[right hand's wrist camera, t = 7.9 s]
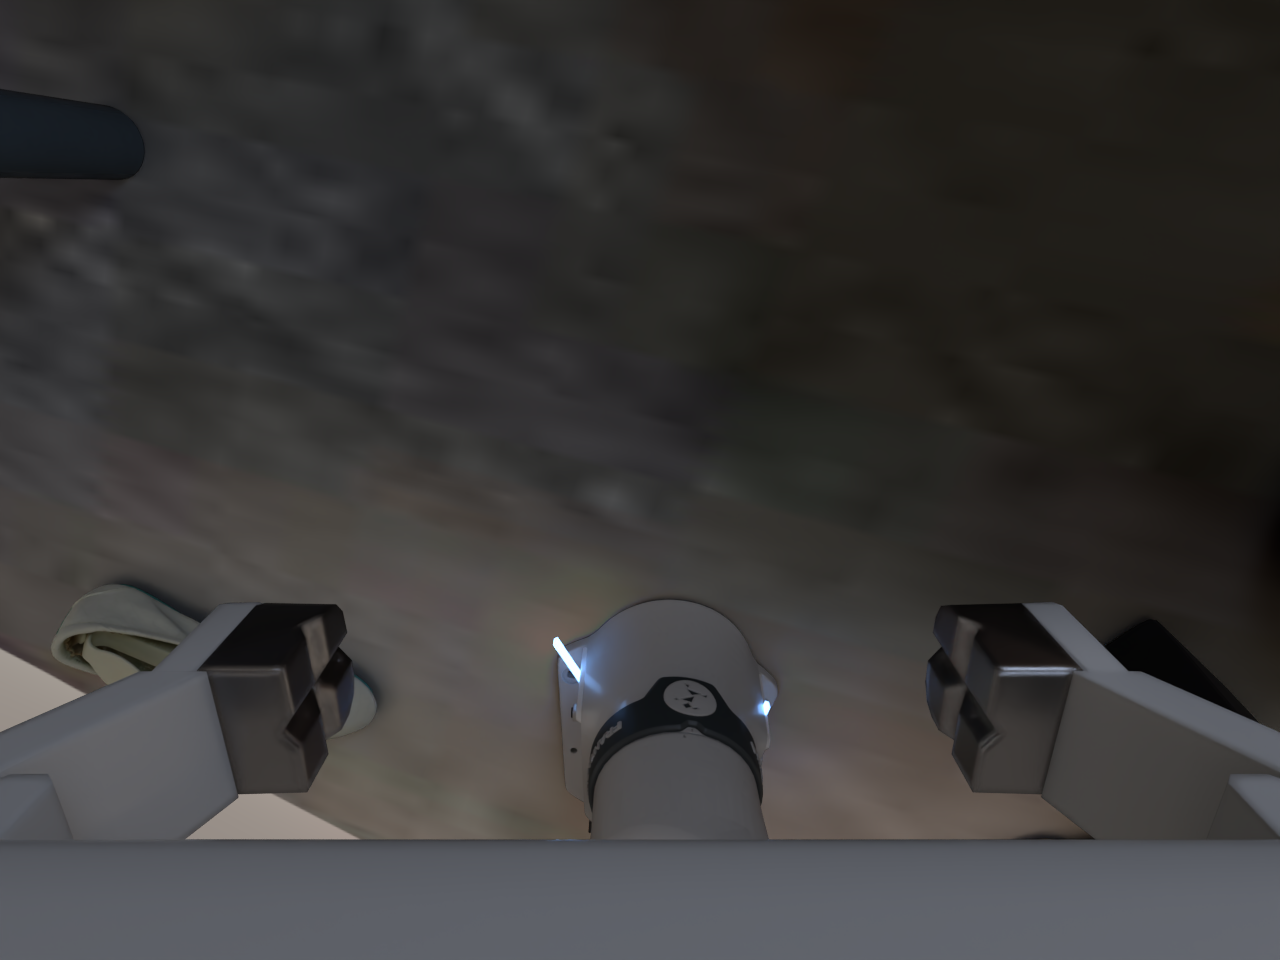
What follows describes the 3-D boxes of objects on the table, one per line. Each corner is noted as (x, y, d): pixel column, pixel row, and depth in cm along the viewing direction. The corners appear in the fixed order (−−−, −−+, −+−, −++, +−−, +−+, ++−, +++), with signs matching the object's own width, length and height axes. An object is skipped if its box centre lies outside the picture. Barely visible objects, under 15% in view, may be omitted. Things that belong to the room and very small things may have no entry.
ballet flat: (358, 747, 66) (323, 816, 59) (80, 634, 62) (6, 694, 55) (394, 677, 64) (362, 741, 56) (106, 554, 59) (30, 606, 52)
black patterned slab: (1050, 673, 63) (1288, 954, 40) (1142, 605, 61) (1452, 862, 38) (1184, 801, 69) (1464, 1117, 45) (1273, 744, 66) (1618, 1045, 43)
